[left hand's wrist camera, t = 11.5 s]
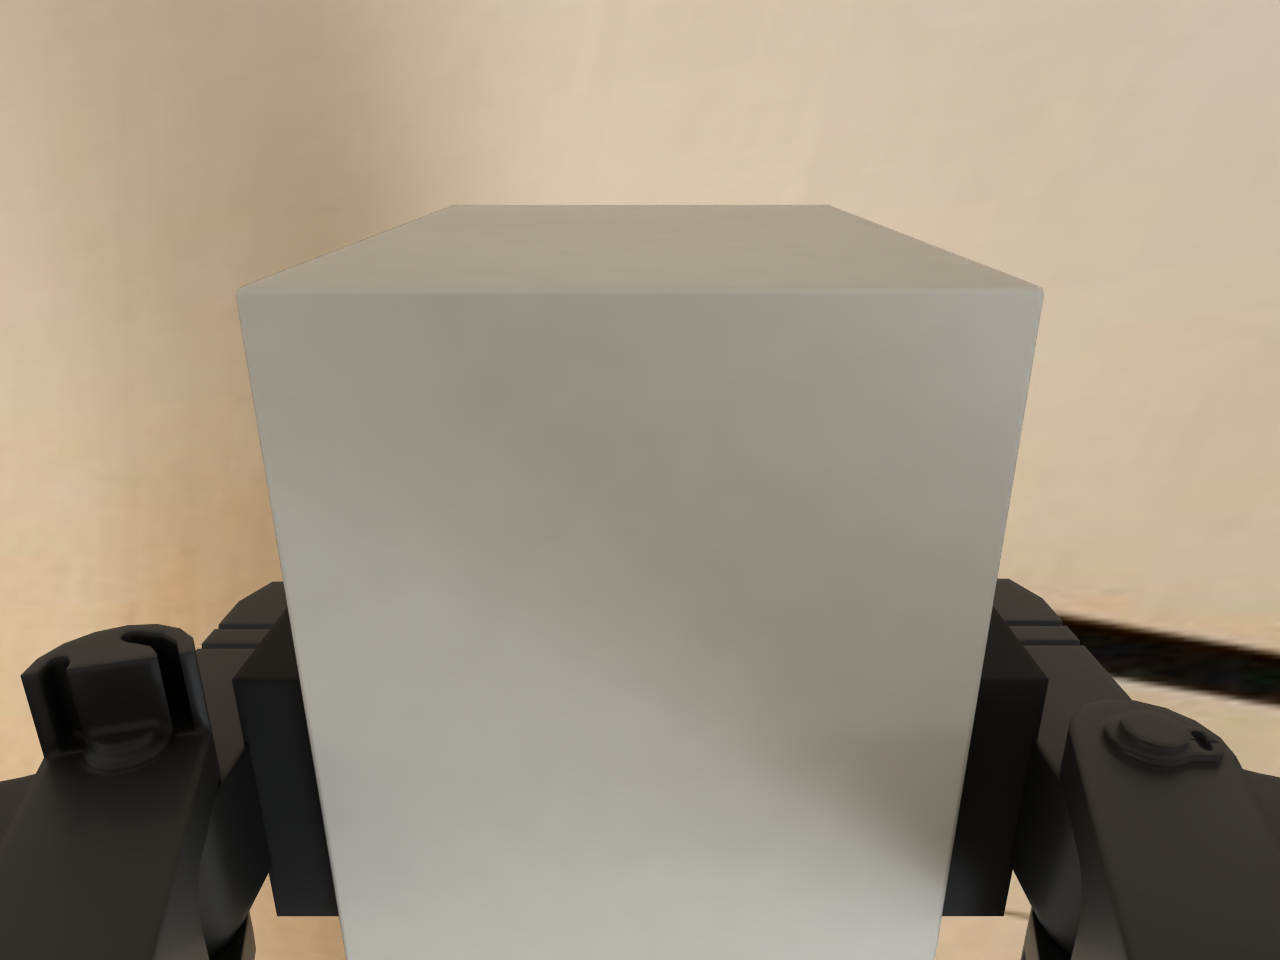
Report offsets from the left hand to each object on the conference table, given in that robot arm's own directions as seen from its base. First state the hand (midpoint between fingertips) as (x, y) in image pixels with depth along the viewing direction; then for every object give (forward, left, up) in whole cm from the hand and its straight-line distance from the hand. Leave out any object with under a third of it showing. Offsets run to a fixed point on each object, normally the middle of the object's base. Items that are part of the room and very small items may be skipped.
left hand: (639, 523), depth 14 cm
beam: (+25, +27, -1) cm, 37 cm away
